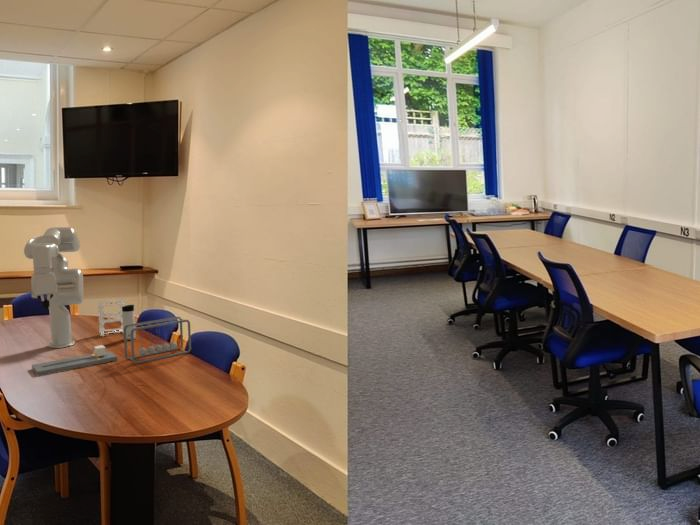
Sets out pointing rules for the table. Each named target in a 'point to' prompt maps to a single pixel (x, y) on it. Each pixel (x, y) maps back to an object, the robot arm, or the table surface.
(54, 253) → the robot arm
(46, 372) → the board
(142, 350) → the newton's cradle
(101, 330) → the film strip holder
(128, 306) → the travel mug
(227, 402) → the table surface
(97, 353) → the fader tab
